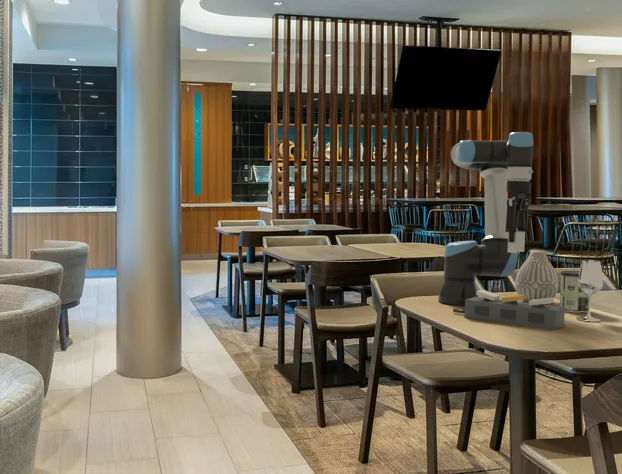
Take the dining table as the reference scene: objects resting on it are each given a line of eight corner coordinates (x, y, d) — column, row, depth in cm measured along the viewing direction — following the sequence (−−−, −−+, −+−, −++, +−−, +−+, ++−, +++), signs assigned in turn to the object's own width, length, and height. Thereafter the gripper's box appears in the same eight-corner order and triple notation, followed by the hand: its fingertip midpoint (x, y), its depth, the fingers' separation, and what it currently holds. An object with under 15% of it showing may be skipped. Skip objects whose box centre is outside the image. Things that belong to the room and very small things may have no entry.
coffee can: (586, 309, 248) (588, 271, 247) (592, 314, 238) (594, 274, 237) (556, 307, 250) (558, 269, 249) (561, 312, 240) (563, 273, 239)
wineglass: (571, 317, 231) (574, 259, 229) (593, 317, 231) (596, 259, 230) (582, 322, 223) (585, 261, 221) (605, 322, 223) (608, 262, 222)
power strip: (447, 315, 230) (448, 295, 230) (459, 311, 237) (460, 292, 237) (554, 330, 208) (555, 308, 208) (563, 325, 216) (565, 304, 215)
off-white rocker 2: (529, 305, 215) (528, 300, 216) (534, 303, 219) (533, 299, 219) (549, 303, 212) (548, 299, 212) (553, 301, 215) (553, 297, 215)
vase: (526, 297, 273) (528, 248, 272) (564, 303, 262) (567, 251, 260) (506, 301, 262) (508, 250, 260) (545, 307, 251) (548, 253, 249)
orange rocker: (502, 301, 221) (501, 297, 221) (507, 300, 224) (506, 296, 224) (521, 300, 217) (520, 295, 217) (526, 298, 220) (525, 294, 221)
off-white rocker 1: (475, 294, 226) (476, 290, 226) (481, 293, 230) (482, 289, 230) (493, 300, 223) (494, 296, 222) (498, 299, 226) (499, 295, 226)
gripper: (519, 179, 208) (516, 254, 210) (540, 181, 223) (537, 251, 225) (496, 179, 213) (493, 252, 214) (518, 181, 228) (515, 249, 229)
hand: (515, 251), depth 220 cm, fingers open, 6 cm apart
